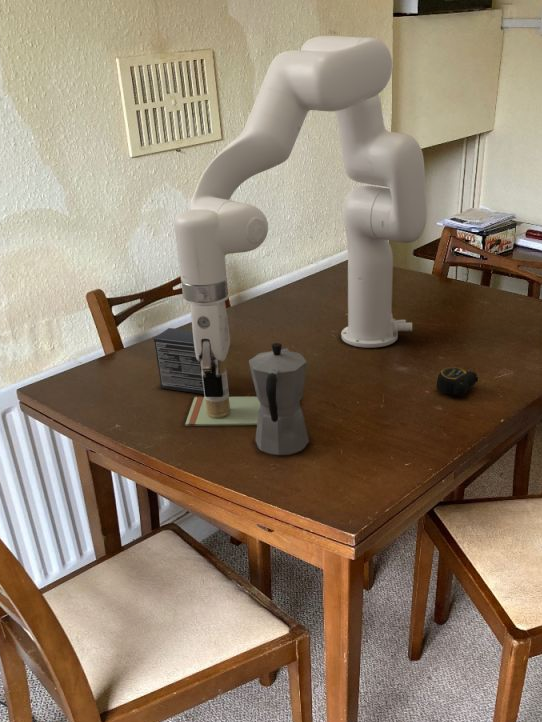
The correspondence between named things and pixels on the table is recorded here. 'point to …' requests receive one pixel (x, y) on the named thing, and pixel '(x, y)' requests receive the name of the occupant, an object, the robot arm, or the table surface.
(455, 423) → the table surface
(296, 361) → the coffeepot
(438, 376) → the tape measure
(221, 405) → the sprinkles bottle
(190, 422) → the notebook
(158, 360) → the small box
